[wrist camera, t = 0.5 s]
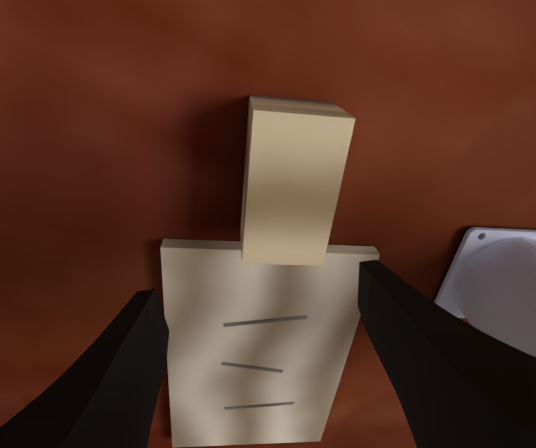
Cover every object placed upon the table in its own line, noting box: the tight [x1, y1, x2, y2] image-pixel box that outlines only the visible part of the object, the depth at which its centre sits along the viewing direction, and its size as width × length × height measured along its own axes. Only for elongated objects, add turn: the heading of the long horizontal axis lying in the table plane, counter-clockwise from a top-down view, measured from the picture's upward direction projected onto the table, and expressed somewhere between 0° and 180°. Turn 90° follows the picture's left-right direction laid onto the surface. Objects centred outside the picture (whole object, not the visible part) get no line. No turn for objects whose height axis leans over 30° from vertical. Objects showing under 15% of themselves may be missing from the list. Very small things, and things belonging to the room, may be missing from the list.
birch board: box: [160, 239, 380, 447], centre depth 27 cm, size 14×22×1 cm, turn 174°
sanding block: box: [240, 95, 355, 266], centre depth 18 cm, size 8×4×4 cm, turn 174°
